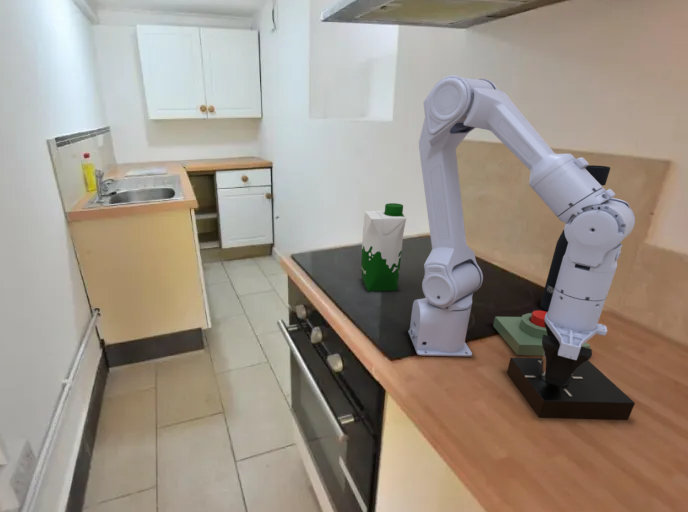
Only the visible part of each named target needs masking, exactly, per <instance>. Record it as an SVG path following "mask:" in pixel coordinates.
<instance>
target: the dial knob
mask: <svg viewBox="0 0 688 512" xmlns="http://www.w3.org/2000/svg"><path fill="white" fill-rule="evenodd" d="M541 358H542V361H541V365H540V368H539V372H538V374H539V376H540V378H541V379H543V380H544V381H545V370H546V356H545V352H544V354H543V356H542V357H541ZM572 375H573V373H572ZM572 375H571V376H570V378H569V379H568V381H567V382H566V383H565V384H564V386H567V385H569V384H570V381H571V378H572ZM552 385H553V384H552Z"/></svg>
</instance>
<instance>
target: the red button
mask: <svg viewBox="0 0 688 512" xmlns="http://www.w3.org/2000/svg"><path fill="white" fill-rule="evenodd" d="M547 312H548V311H546V310H533V311H532V312H531V313H532V316H531V320H530V322H531V323H533V324H535V325H537V326H541V327H545V324H544V322H545V320H544V318H545V315H546V313H547ZM545 328H546V327H545Z"/></svg>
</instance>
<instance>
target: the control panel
mask: <svg viewBox="0 0 688 512" xmlns="http://www.w3.org/2000/svg"><path fill="white" fill-rule="evenodd" d="M542 358H543V357H510V358H509V362H508V367H507V372H506V373H507V375H508V376H509V378H510V380H511V381H512V382H513V383H514V384H515V386H516V388H517V389H518V390H519V391H520V393H521V395H522V396H523V397H524V399H525V400H526V401H527V402H528V405H530V407H531V408H532V410H533V411H534V412H535V414H536V415H537V416H538V418H546V419H575V420H576V419H579V420H580V419H581V420H611V421H613V420H617V421H618V420H619V421H628V420H629V418H630V416H631V414H632V412H633V409H634V407H635V404H636V402H635V401H634V400H632V399H631V398H630V397H629V396H628V395H627V394H626V393H625V392H624V391H623V390H621V388H619V387H618V386H617V384H615V383H614V382H613V381H612V380H611V379H609V377H607V376H606V375H605V374H604V373H603V372H602V371H601V370H600V369H598V368H597V367H596V366H595V365H594V364H593V363H592V362H591V361H590V359H589V360H587V361H585V362H584V363H582V364H581V365H580V366H578V367H577V368H576V370H575V371H574V372H573V375H572V378H571V381H570V384H569V385H567V386H563V387H559V386H556V385H552V384H549V383H546V381H544V380H543V379H541V378H540V376H539V374H538V372H539V368H540V365H541V361H542Z"/></svg>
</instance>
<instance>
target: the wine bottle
mask: <svg viewBox="0 0 688 512" xmlns="http://www.w3.org/2000/svg"><path fill="white" fill-rule="evenodd" d="M585 169H586V170H587V171H588V172H589V173H590V174H591V175H592V176H593V177H594V178H595V179H596V180H597V182H598V183H599V184H600V185H601V186H602V187H603V186H606V185H607V181H608V179H609V178H608V177H609V175H610V171H611V167H610V166H607V165H595V164H594V165H590V164H589V165H588V166H587V167H585ZM567 246H568V241H567V239H566V237H565V233H564V229H562V232H561V234H560V236H559V237H558V239H557V241H556V244H555V248H554V251H553V255H552V260H551V263H550V267H549V270H548V275H547V276H546V277H547V278H546V281H545V284H544V285H545V286H544V288H543V289H544V290H543V293H542V296H541V300H540V304H539V306H540V308H541V309H543V311H545V312H548V310H549V307H550V303H551V299H552V296H553V292H554V288H555V285H556V281H557V278H558V274H559V271H560V267H561V263H562V260H563V256H564V255H565V253H566V249H567Z"/></svg>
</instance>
